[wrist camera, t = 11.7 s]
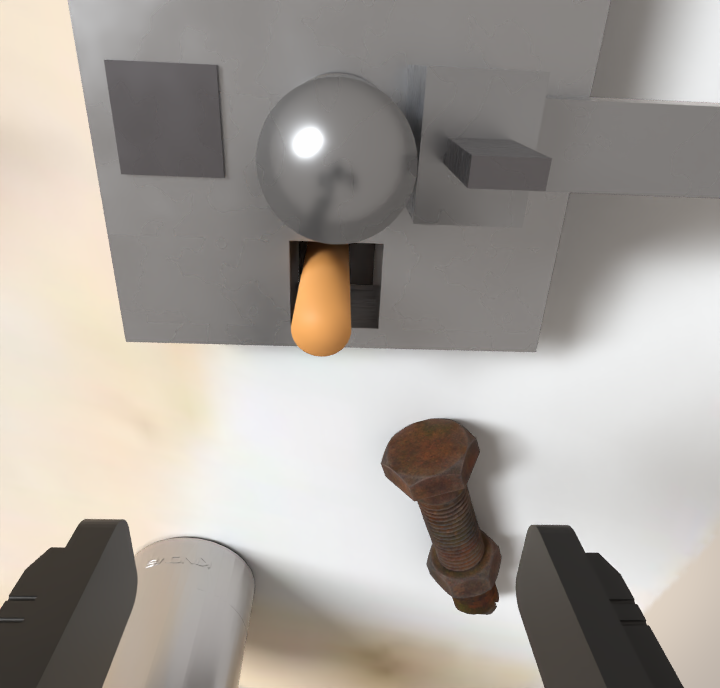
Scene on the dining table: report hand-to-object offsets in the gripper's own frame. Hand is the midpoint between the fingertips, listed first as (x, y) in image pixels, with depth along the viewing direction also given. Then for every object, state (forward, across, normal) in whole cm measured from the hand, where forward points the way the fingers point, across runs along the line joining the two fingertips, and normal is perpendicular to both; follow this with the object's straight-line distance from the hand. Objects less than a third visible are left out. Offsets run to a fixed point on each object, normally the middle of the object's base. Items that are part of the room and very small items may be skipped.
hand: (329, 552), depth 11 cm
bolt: (+21, -8, +18) cm, 29 cm away
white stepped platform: (+20, -2, -7) cm, 21 cm away
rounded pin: (+20, 0, 0) cm, 20 cm away
